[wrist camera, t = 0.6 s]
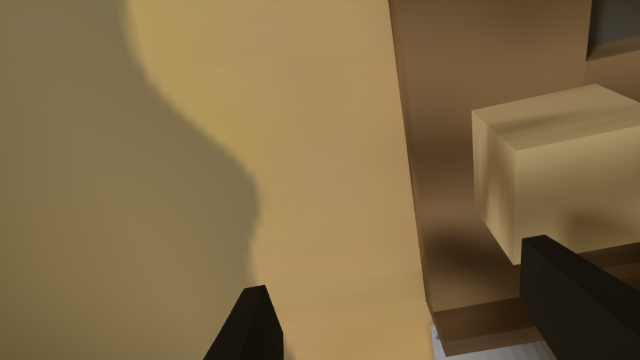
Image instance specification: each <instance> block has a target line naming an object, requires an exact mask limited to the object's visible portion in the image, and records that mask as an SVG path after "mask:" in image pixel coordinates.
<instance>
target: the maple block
mask: <svg viewBox="0 0 640 360" xmlns="http://www.w3.org/2000/svg"><path fill="white" fill-rule="evenodd" d="M472 135H473V163H474V192H475V209H476V211H477V212H478V214H479V215H480V217H481V218H482V220H483V221H484V222H485V224H486V225H487V227H488V228H489V230H490V231H491V233H492V234H493V236H494V237H495V239H496V240H497V242H498V243H499V245H500V246H501V248H502V249H503V251H504V252H505V253H506V255H507V256H508V258H509V259H510V261H511V262H512V264H513V265H517V264H521V244H522V238H527V237H533V236H538V235H544V234H545V235H547V236H548V237H550V238H552V239H553V240H555V241H557V242H558V243H560V244H562V245H563V246H565V247H566V248H568V249H570V250H571V251H573V252H575V253H582V252H587V251H593V250H598V249H604V248H609V247H615V246H620V245H625V244H631V243H636V242H640V103H639V102H637V101H635V100H633V99H630V98H628V97H626V96H623V95H621V94H619V93H616V92H614V91H612V90H609V89H607V88H605V87H602V86H600V85H598V84H592V85H587V86H582V87H578V88H573V89H569V90H564V91H559V92H555V93H550V94H545V95H541V96H536V97H531V98H527V99H522V100H518V101H513V102H508V103H504V104H499V105H494V106H490V107H485V108H481V109H476V110H472Z"/></svg>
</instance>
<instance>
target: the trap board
mask: <svg viewBox="0 0 640 360" xmlns="http://www.w3.org/2000/svg"><path fill="white" fill-rule="evenodd" d="M388 1H389V9H390V17H391V25H392V33H393V41H394V49H395V57H396V65H397V73H398V81H399V89H400V97H401V105H402V113H403V121H404V129H405V137H406V145H407V153H408V161H409V169H410V177H411V185H412V193H413V201H414V209H415V217H416V225H417V233H418V241H419V249H420V257H421V265H422V273H423V281H424V289H425V297H426V302H427V305H428V308H429V311H430V313H431V316H432V319H433V322H434V325H435V328H436V331H437V333H438V336H439V339H440V342H441V345H442V348H443V350H444V353H445V356H446V357H450V356H455V355H461V354H467V353H473V352H479V351H485V350H491V349H497V348H503V347H509V346H515V345H521V344H527V343H533V342H539V341H545V340H544V339H543V337H542V336H541V334H540V332H539V331H538V329H537V328H536V326H535V324H534V322H533V320H532V318H531V316H530V314H529V312H528V310H527V308H526V306H525V304H524V302H523V300H522V298H521V296H520V293H519V288H520V266H521V264H517V265H513V264H512V262H511V261H510V259H509V258H508V256H507V255H506V253H505V252H504V251H503V249H502V248H501V246H500V245H499V243H498V242H497V240H496V239H495V237H494V236H493V234H492V233H491V231H490V230H489V228H488V227H487V225H486V224H485V222H484V221H483V220H482V218H481V217H480V215H479V214H478V212H477V211H476V209H475V192H474V163H473V135H472V110H476V109H481V108H485V107H490V106H494V105H499V104H504V103H508V102H513V101H518V100H522V99H527V98H531V97H536V96H541V95H545V94H550V93H555V92H559V91H564V90H569V89H573V88H578V87H582V86H587V85H592V84H598V85H600V86H602V87H605V88H607V89H609V90H612V91H614V92H616V93H619V94H621V95H623V96H626V97H628V98H630V99H633V100H635V101H637V102H639V103H640V0H388ZM576 254H578V255H579V256H581V257H583V258H584V259H586V260H588V261H589V262H591V263H592V264H594V265H596V266H597V267H599V268H601V269H602V270H604V271H606V272H607V273H609V274H611V275H613V276H614V277H616V278H618V279H619V280H621V281H623V282H625V283H626V284H628V285H630V286H632V287H633V288H635V289H637V290H639V291H640V242H636V243H631V244H625V245H620V246H615V247H609V248H604V249H598V250H593V251H587V252H582V253H576Z"/></svg>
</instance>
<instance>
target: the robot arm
mask: <svg viewBox="0 0 640 360" xmlns="http://www.w3.org/2000/svg"><path fill="white" fill-rule="evenodd" d="M519 293H520V296H521V298H522V300H523V302H524V304H525V306H526V308H527V310H528V312H529V314H530V316H531V318H532V320H533V322H534V324H535V326H536V328H537V329H538V331H539V332H540V334H541V336H542V337H543V339H544V340H545V341H539V342H533V343H527V344H521V345H515V346H509V347H503V348H497V349H491V350H485V351H479V352H473V353H467V354H461V355H455V356H450V357H446V356H445V353H444V350H443V348H442V345H441V342H440V339H439V336H438V333H437V331H436V328H435V325H434V324H432V325H431V327H430V332H431V340H432V348H433V356H434V360H640V291H639V290H637V289H635V288H633V287H632V286H630V285H628V284H626V283H625V282H623V281H621V280H619V279H618V278H616V277H614V276H613V275H611V274H609V273H607V272H606V271H604V270H602V269H601V268H599V267H597V266H596V265H594V264H592V263H591V262H589V261H588V260H586V259H584V258H583V257H581V256H579V255H578V254H576V253H575V252H573V251H571V250H570V249H568V248H566V247H565V246H563V245H562V244H560V243H558V242H557V241H555V240H553V239H552V238H550V237H548V236H547V235H545V234H544V235H538V236H533V237H527V238H522V244H521V266H520V288H519ZM283 357H284V349H283V331H282V329H281V326H280V323H279V321H278V318H277V315H276V313H275V310H274V307H273V305H272V302H271V299H270V297H269V294H268V291H267V289H266V286H265V285H261V286H255V287H250V288H245V289H244V290H243V291H242V293H241V295H240V297H239V298H238V300H237V302H236V304H235V305H234V307H233V309H232V311H231V313H230V315H229V317H228V318H227V320H226V322H225V323H224V325H223V327H222V329H221V330H220V332H219V334H218V336H217V337H216V339H215V341H214V342H213V344H212V345H211V347H210V349H209V350H208V352H207V354H206V356H205V357H204V359H203V360H284V358H283Z"/></svg>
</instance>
